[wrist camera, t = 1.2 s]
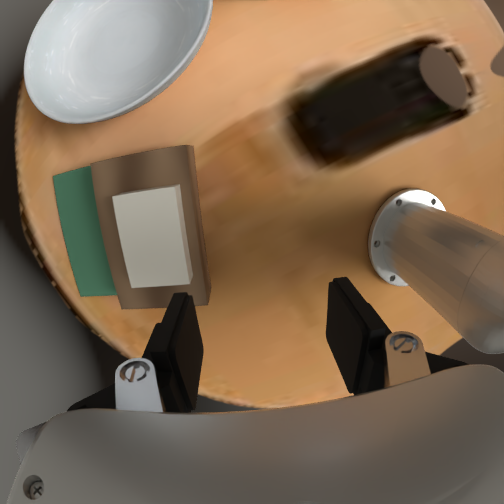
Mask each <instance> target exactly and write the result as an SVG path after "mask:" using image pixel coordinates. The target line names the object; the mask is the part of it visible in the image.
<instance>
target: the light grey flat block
mask: <svg viewBox="0 0 504 504" xmlns="http://www.w3.org/2000/svg"><path fill="white" fill-rule="evenodd" d="M112 198H113V204H114V210H115V216H116V221H117V227H118V232H119V237H120V241H121V246H122V251H123V255H124V260H125V264H126V268H127V272H128V276H129V280H130V284H131V288H141V287H156V286H171V285H185V284H190V283H191V280H192V277H193V272H192V266H191V260H190V254H189V248H188V241H187V235H186V228H185V221H184V214H183V206H182V199H181V191H180V184H177V185H169V186H162V187H156V188H149V189H143V190H137V191H131V192H125V193H120V194H117V195H115V196H112Z"/></svg>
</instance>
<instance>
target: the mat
mask: <svg viewBox="0 0 504 504" xmlns="http://www.w3.org/2000/svg"><path fill="white" fill-rule="evenodd" d="M53 180H54V187H55V194H56V200H57V206H58V211H59V216H60V221H61V226H62V231H63V235H64V239H65V244H66V248H67V252H68V255H69V259H70V263H71V266H72V270H73V273H74V277H75V280H76V283H77V286H78V289H79V293H80V296H81V297H82V296H108V295H117V292H116V288H115V285H114V281H113V278H112V274H111V270H110V266H109V262H108V258H107V254H106V250H105V246H104V241H103V237H102V232H101V227H100V222H99V217H98V211H97V206H96V200H95V193H94V187H93V180H92V172H91V166H87V167H83V168H79V169H76V170H72V171H69V172H65V173H62V174H58V175H55V176H53Z"/></svg>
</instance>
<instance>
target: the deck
mask: <svg viewBox="0 0 504 504" xmlns="http://www.w3.org/2000/svg"><path fill="white" fill-rule="evenodd" d="M91 172H92V180H93V187H94V193H95V200H96V206H97V211H98V217H99V222H100V227H101V232H102V237H103V241H104V246H105V250H106V254H107V258H108V262H109V266H110V270H111V274H112V278H113V281H114V285H115V288H116V292H117V295H118V299H119V302H120V305H121V308H122V309H146V308H168V305H169V303H170V301H171V298H172V296H173V294H174V293H180V292H187V293H188V295H192V296H193V300H194V305H195V306H202V305H208V302H209V297H210V292H211V283H210V276H209V270H208V263H207V256H206V249H205V241H204V234H203V226H202V219H201V211H200V202H199V194H198V185H197V176H196V166H195V156H194V146H190V145H182V146H175V147H169V148H163V149H157V150H151V151H146V152H141V153H136V154H131V155H126V156H121V157H117V158H112V159H108V160H104V161H100V162H96V163H92V164H91ZM177 184H180V191H181V199H182V206H183V214H184V221H185V228H186V235H187V241H188V248H189V254H190V260H191V266H192V272H193V277H192V280H191V283H190V284H185V285H171V286H156V287H141V288H131V284H130V280H129V276H128V272H127V268H126V264H125V260H124V255H123V251H122V246H121V241H120V237H119V232H118V227H117V221H116V216H115V210H114V204H113V198H112V196H115V195H117V194H120V193H125V192H131V191H137V190H143V189H149V188H156V187H162V186H169V185H177Z"/></svg>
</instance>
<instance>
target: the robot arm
mask: <svg viewBox="0 0 504 504" xmlns="http://www.w3.org/2000/svg"><path fill="white" fill-rule="evenodd" d="M374 242H375V243H374ZM368 252H369V257H370V261H371V264H372V266H373V268H374V270H375V271H376V272H377V273H378V275H379V276H380V277H381V278H383V279H384V280H385V281H386V282H388V283H389V284H392V285H396V286H410V287H411V288H412V289H413V290H414V291H416V292H417V293H418V294H419V295H420V296H421V297H422V298H423V299H424V300H425V301H426V302H427V303H429V304H430V305H431V306H432V307H433V308H434V309H435V310H436V311H437V312H438V313H439V314H440V315H441V316H442V317H443V318H444V319H445V320H446V321H447V322H448V323H449V324H450V325H451V326H452V327H453V328H454V329H455V330H456V331H457V332H458V333H459V334H460V335H461V336H462V337H464V338H465V339H466V340H467V341H468V342H469V343H470V344H471V345H472V346H473V347H474V348H476V349H478V350H479V351H482V352H484V353H491V354H495V353H496V354H497V353H503V352H504V236H503V235H500V234H498V233H496V232H494V231H492V230H489V229H487V228H485V227H483V226H480V225H478V224H476V223H473V222H471V221H469V220H466V219H464V218H461V217H459V216H456V215H454V214H451V213H449V212H446V210H445V208H444V206H443V204H442V203H441V202H440V200H439V199H438V198H437V197H436V196H434V195H433V194H432V193H430V192H427V191H425V190H421V189H412V188H410V189H406V190H402V191H400V192H398V193H396V194H394V195H393V196H391V197H390V198H389V199H387V200H386V202H385V203H384V204H383V205H382V206H381V207H380V209H379V211H378V212H377V214H376V215H375V218H374V220H373V222H372V225H371V228H370V232H369V239H368ZM326 339H327V342H328V344H329V346H330V349H331V351H332V353H333V356H334V358H335V360H336V363H337V365H338V368H339V370H340V372H341V375H342V377H343V379H344V382H345V384H346V387H347V389H348V391H349V393H353V394H354V395H353V396H349V397H344V398H339V399H334V400H328V401H323V402H317V403H311V404H305V405H298V406H290V407H282V408H274V409H264V410H252V411H238V412H216V413H191V410H195V408H196V401H197V394H198V387H199V380H200V373H201V366H202V359H203V343H202V338H201V334H200V329H199V325H198V320H197V315H196V310H195V305H194V300H193V296H192V295H188V293H187V292H180V293H174V294H173V296H172V298H171V301H170V303H169V305H168V308H167V310H166V312H165V315H164V317H163V320H162V322H161V323H157V324H156V325H155V327H154V330H153V332H152V334H151V337H150V339H149V342H148V344H147V346H146V349H145V351H144V354H143V356H142V358H133V359H130V360H128V361H126V362H124V363H122V364H121V365H120V366H119V367H118V369H117V370H116V374H115V383H114V384H112V385H110V386H109V387H107V388H105V389H103V390H101V391H99V392H97V393H95V394H93V395H91V396H89V397H87V398H85V399H83V400H81V401H79V402H77V403H75V404H73V405H72V406H71V407H70V408H69V409H68V410H67V412H64V413H60V414H57V415H55V416H53V417H52V418H50V419H49V420H48V421H47V422H44V423H42V424H39V425H37V426H34V427H32V428H29V429H27V430H24V431H23V432H21V433H20V434H19V436H18V438H17V440H16V447H17V451H18V456H19V460H20V464H21V466H20V468H19V471H18V473H17V476H16V478H15V481H14V483H13V486H12V489H11V492H10V495H9V498H8V501H7V504H504V373H503V372H502V371H500V370H499V369H497V368H495V367H493V366H489V365H469V364H467V363H464V362H461V361H457V360H454V359H450V358H446V357H442V356H439V355H435V354H432V353H428V352H425V350H424V347H423V343H422V341H421V339H420V338H419V337H418V336H416V335H414V334H413V333H410V332H404V331H399V332H394V333H392V332H391V331H390V329H389V328H388V327H387V325H386V324H385V323H384V321H383V320H382V319H381V318H380V316H379V315H378V314H377V312H376V311H375V310H374V309H373V307H372V306H371V305H370V304H369V303H367V302H366V301H365V299H364V298H363V297H362V296H361V294H360V293H359V292H358V290H357V289H356V288H355V287H354V285H353V284H352V283H351V282H350V280H349V279H348V278H347V277H341V278H334V279H333V282H329V289H328V309H327V325H326Z"/></svg>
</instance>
